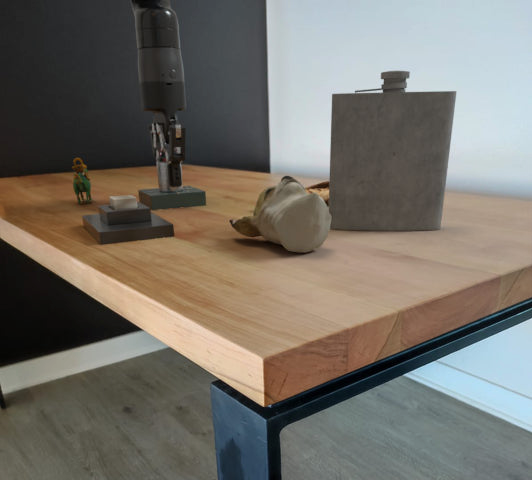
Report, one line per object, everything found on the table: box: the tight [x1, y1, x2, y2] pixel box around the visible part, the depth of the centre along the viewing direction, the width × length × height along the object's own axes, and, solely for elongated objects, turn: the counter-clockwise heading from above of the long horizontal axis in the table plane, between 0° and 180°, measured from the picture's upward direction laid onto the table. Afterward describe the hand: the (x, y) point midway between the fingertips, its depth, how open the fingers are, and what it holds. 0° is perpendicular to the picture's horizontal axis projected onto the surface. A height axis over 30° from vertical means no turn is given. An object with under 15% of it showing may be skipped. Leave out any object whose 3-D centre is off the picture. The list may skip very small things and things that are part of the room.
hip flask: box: [328, 70, 457, 232], centre depth 74 cm, size 16×4×20 cm, turn 83°
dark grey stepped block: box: [81, 201, 175, 246], centre depth 78 cm, size 10×14×4 cm
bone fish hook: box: [304, 180, 329, 206], centre depth 96 cm, size 9×5×18 cm
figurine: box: [71, 157, 94, 204], centre depth 102 cm, size 3×12×8 cm, turn 7°
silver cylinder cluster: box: [155, 159, 184, 192], centre depth 98 cm, size 4×4×5 cm
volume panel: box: [137, 185, 207, 211], centre depth 100 cm, size 10×9×3 cm
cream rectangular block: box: [108, 194, 138, 210], centre depth 77 cm, size 3×3×2 cm
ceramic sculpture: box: [228, 175, 331, 254], centre depth 68 cm, size 11×9×15 cm
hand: (171, 184), depth 99 cm, fingers closed on silver cylinder cluster, 4 cm apart
